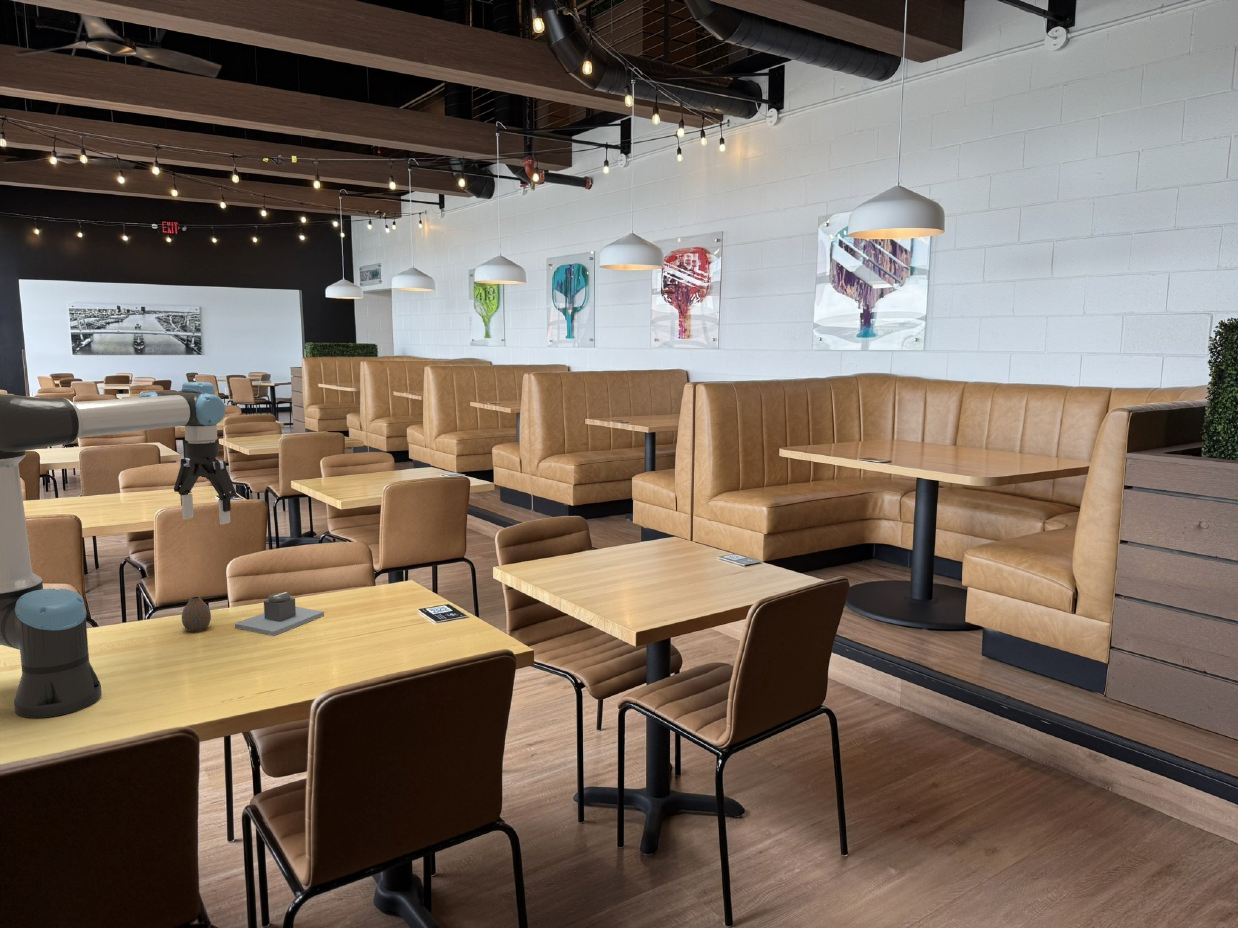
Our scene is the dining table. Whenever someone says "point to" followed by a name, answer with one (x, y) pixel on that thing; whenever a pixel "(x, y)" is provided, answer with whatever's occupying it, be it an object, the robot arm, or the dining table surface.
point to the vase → (196, 615)
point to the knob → (279, 606)
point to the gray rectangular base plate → (278, 622)
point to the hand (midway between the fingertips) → (206, 521)
